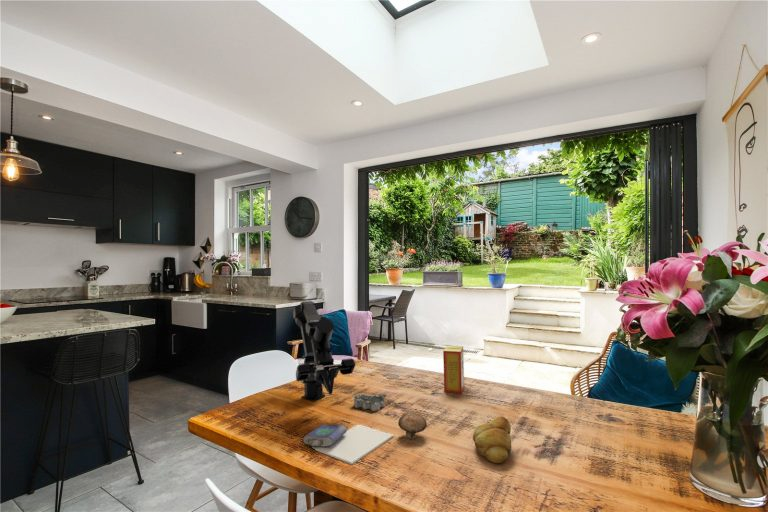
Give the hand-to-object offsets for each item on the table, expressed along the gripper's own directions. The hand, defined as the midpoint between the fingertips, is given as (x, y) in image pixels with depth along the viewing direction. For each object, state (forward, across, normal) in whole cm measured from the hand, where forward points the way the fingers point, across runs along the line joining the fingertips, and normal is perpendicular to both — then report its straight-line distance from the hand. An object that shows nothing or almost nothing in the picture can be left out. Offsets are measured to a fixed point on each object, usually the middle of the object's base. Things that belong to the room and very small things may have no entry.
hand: (330, 393), depth 117 cm
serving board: (+17, -3, +4) cm, 18 cm away
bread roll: (+32, -33, +19) cm, 49 cm away
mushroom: (+20, -19, +6) cm, 28 cm away
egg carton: (+1, -16, -13) cm, 21 cm away
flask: (+11, +1, 0) cm, 11 cm away
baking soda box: (-1, -52, -15) cm, 54 cm away
